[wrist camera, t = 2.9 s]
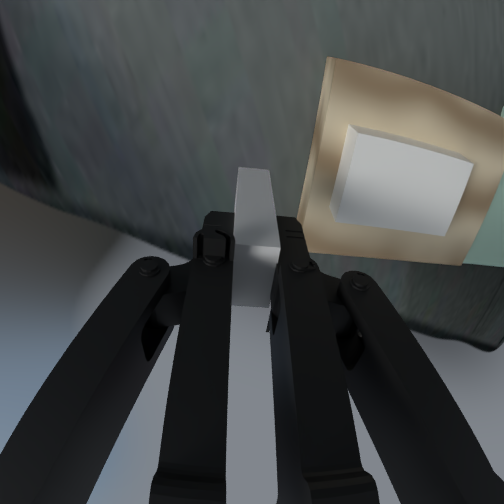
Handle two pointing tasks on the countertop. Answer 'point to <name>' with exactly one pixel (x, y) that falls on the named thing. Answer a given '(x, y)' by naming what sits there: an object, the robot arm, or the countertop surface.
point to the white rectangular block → (397, 182)
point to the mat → (490, 233)
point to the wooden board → (407, 125)
